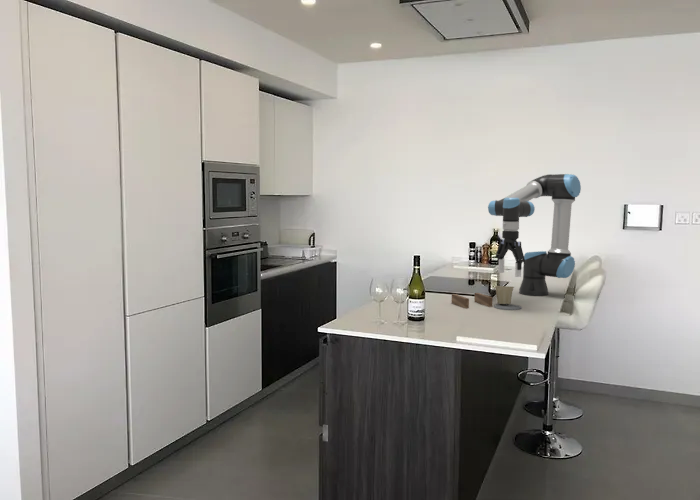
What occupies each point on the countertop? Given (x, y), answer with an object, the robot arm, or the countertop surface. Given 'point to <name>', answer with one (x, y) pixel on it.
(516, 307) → the disc
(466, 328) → the countertop surface
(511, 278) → the countertop surface
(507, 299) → the flower pot
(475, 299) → the slot holder
